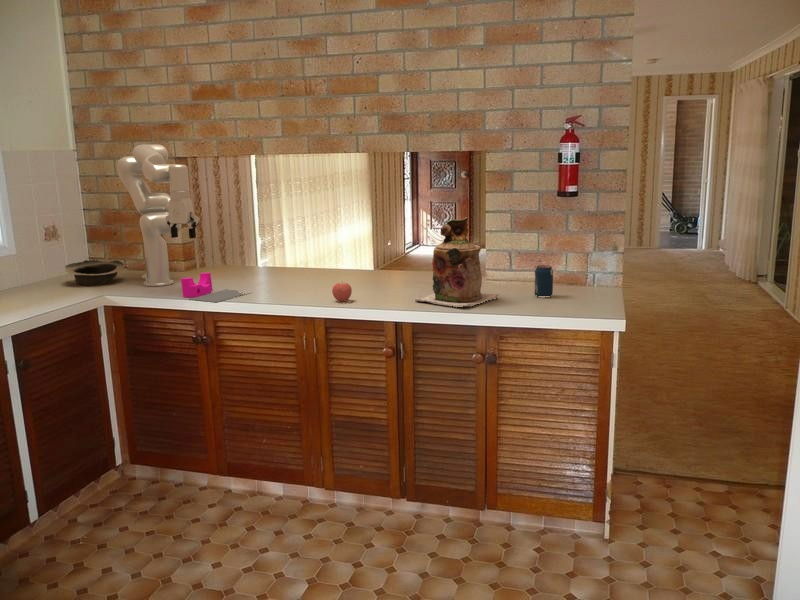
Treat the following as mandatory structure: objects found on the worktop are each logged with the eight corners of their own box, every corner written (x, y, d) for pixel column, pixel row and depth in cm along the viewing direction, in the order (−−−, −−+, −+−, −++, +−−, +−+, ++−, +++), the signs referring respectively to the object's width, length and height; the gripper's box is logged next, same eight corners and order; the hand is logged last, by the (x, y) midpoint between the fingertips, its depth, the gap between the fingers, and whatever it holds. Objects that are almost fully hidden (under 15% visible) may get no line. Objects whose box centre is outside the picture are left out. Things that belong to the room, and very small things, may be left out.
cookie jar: (449, 292, 286) (449, 213, 279) (501, 299, 270) (503, 216, 264) (412, 302, 267) (411, 218, 260) (465, 310, 252) (466, 221, 245)
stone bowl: (98, 275, 334) (97, 256, 332) (137, 283, 324) (136, 263, 322) (53, 283, 312) (52, 263, 310) (93, 292, 302) (92, 271, 300)
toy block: (196, 297, 280) (193, 278, 278) (183, 297, 282) (180, 278, 280) (217, 290, 293) (215, 272, 292) (205, 290, 295) (202, 272, 294)
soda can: (555, 296, 274) (556, 266, 271) (546, 299, 269) (546, 268, 266) (540, 294, 278) (541, 264, 276) (530, 296, 274) (531, 266, 271)
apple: (354, 299, 273) (353, 279, 271) (348, 303, 266) (348, 282, 264) (336, 299, 274) (335, 279, 273) (330, 302, 267) (329, 282, 266)
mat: (188, 299, 276) (188, 299, 276) (226, 290, 296) (226, 289, 295) (216, 302, 270) (216, 301, 270) (252, 292, 289) (252, 291, 289)
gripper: (157, 196, 284) (161, 238, 287) (189, 196, 276) (193, 239, 279) (170, 195, 290) (174, 236, 294) (203, 195, 283) (206, 237, 286)
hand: (183, 237), depth 287 cm, fingers open, 9 cm apart
